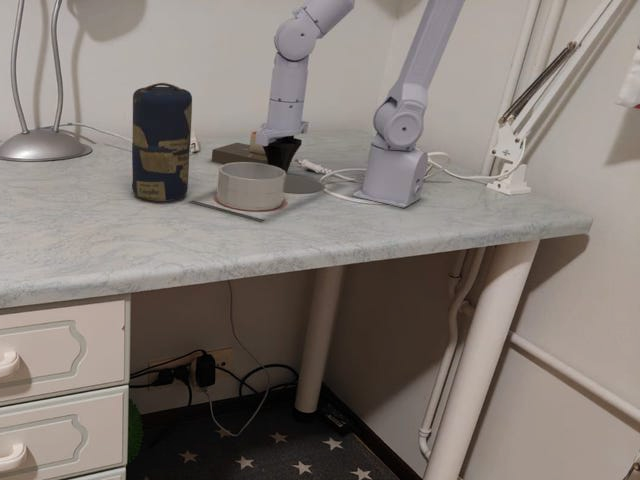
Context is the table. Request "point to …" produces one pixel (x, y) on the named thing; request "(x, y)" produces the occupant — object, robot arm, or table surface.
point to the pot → (250, 186)
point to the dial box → (236, 154)
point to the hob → (291, 186)
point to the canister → (161, 142)
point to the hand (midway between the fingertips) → (276, 181)
